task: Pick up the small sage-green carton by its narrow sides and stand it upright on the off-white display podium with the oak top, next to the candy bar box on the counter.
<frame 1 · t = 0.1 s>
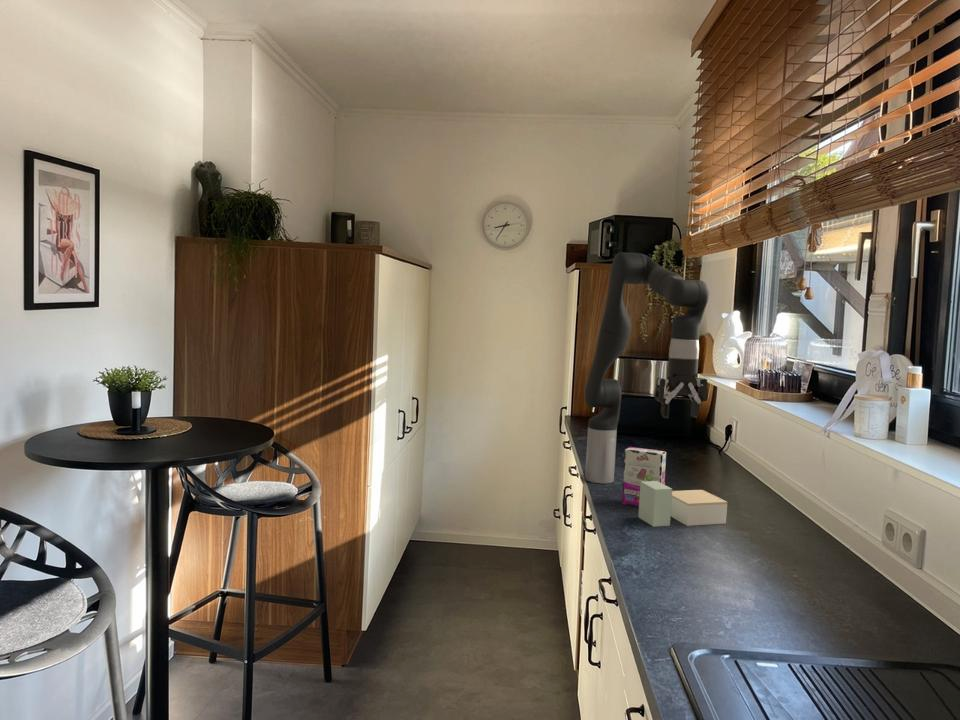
hand: (679, 417, 194), 29 cm above the worktop, fingers open, 8 cm apart
podium: (694, 517, 203), on the worktop
sage carton: (653, 521, 198), on the worktop
candy bar box: (642, 506, 213), on the worktop
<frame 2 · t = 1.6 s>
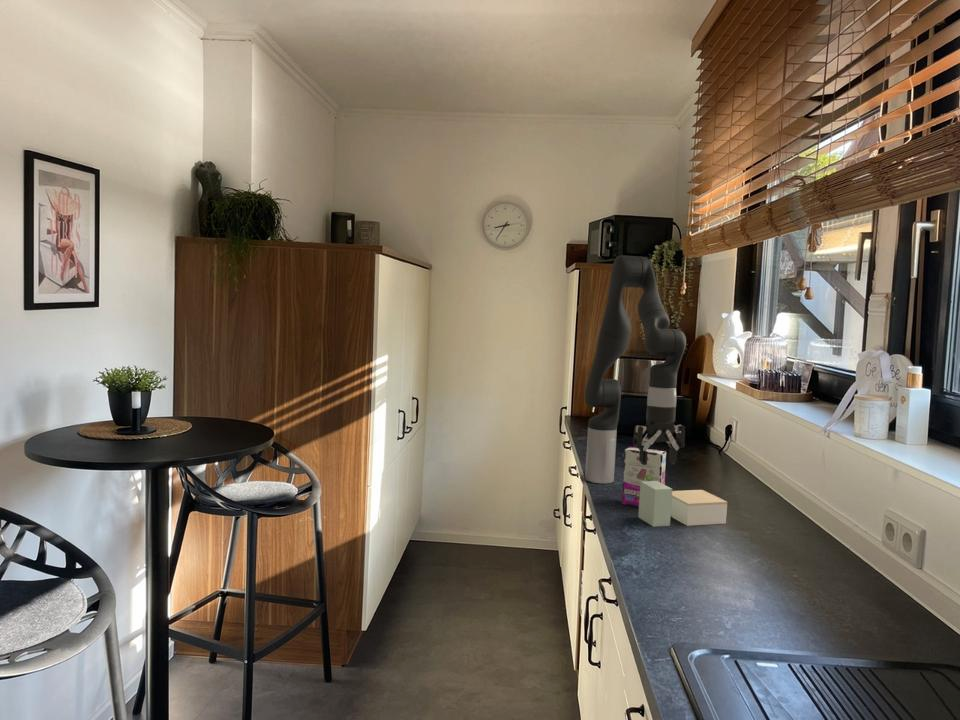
hand: (657, 463, 197), 16 cm above the worktop, fingers open, 8 cm apart
nothing on the worktop moved.
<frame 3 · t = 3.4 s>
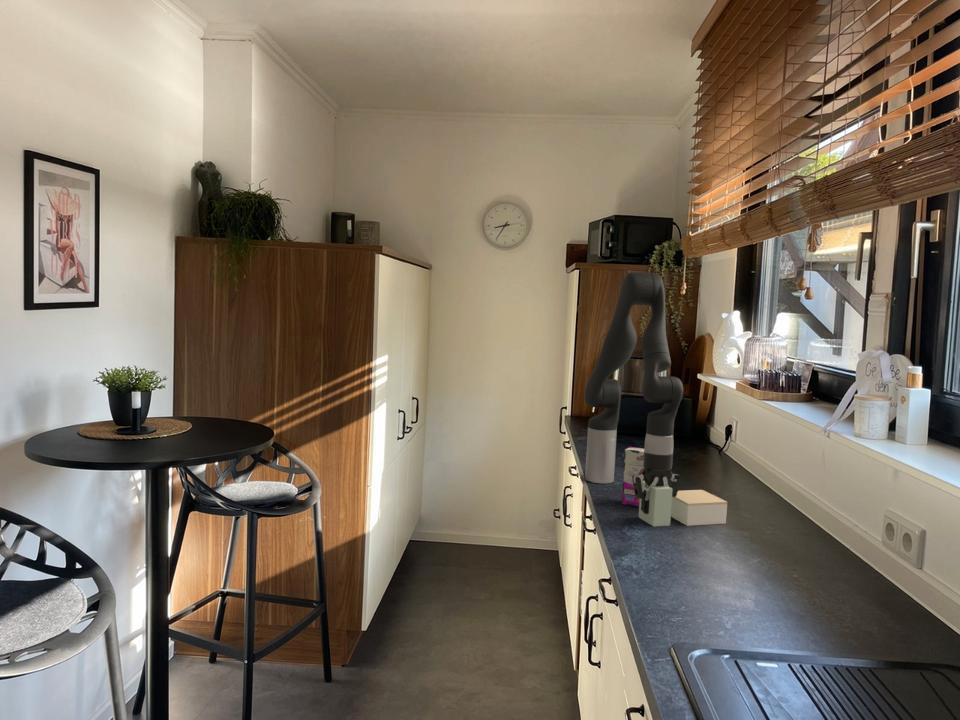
hand: (654, 512, 198), 2 cm above the worktop, fingers closed on sage carton, 5 cm apart
sage carton: (654, 521, 198), on the worktop, touching gripper
everything else where it was.
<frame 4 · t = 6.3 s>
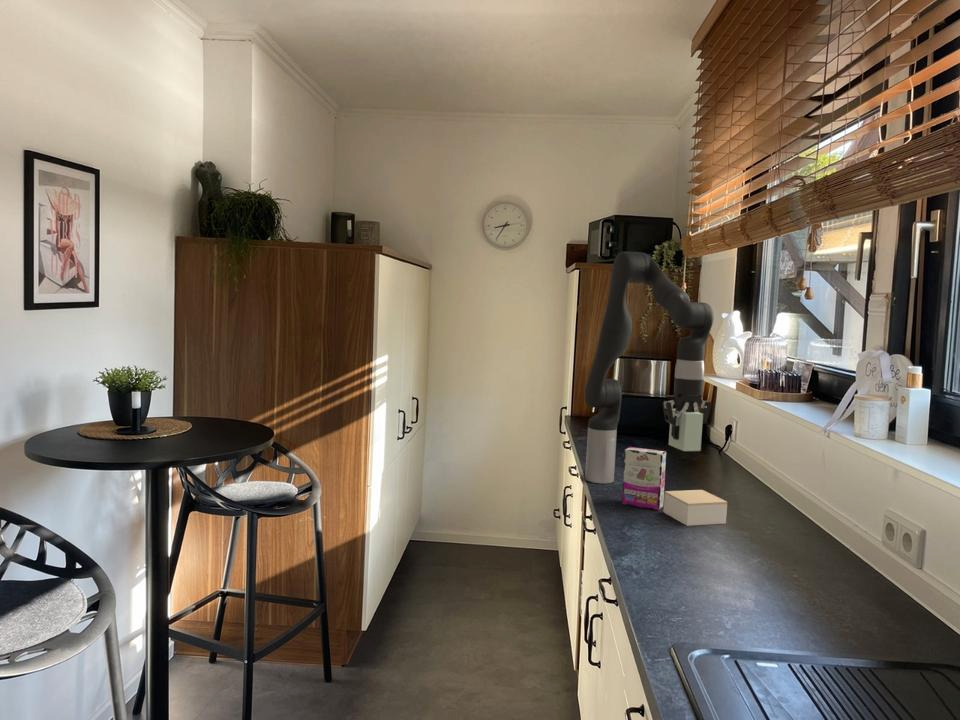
hand: (684, 438, 199), 22 cm above the worktop, fingers closed on sage carton, 5 cm apart
sage carton: (684, 447, 199), point 20 cm above the worktop, touching gripper
everything else where it was.
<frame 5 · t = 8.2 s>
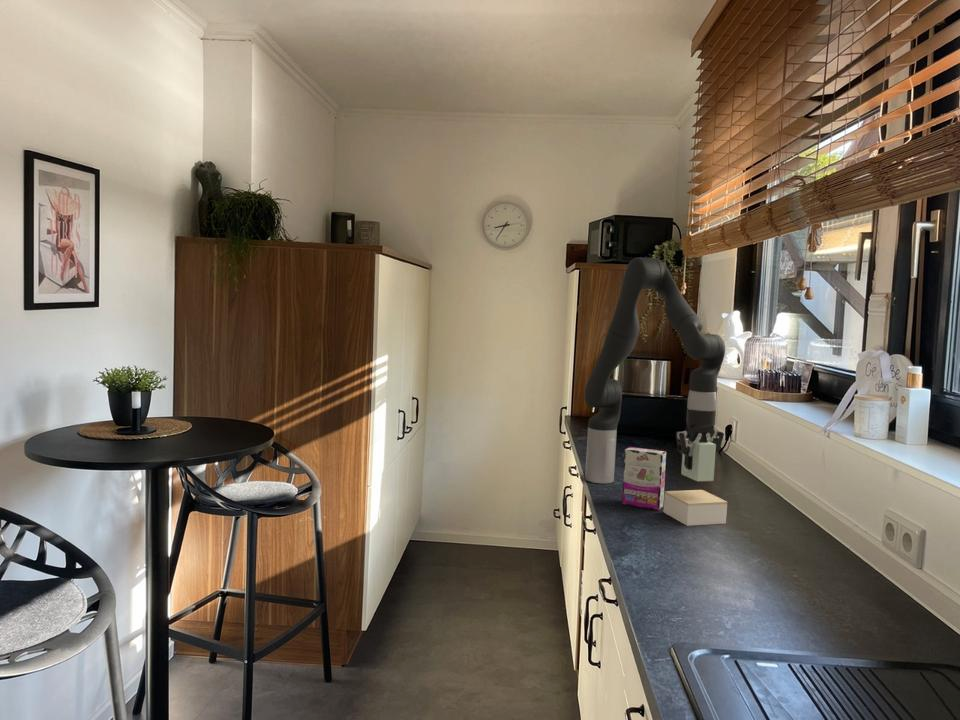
hand: (697, 468, 201), 14 cm above the worktop, fingers closed on sage carton, 5 cm apart
sage carton: (697, 477, 202), point 11 cm above the worktop, touching gripper
everything else where it was.
when the fingers open (10 cm above the worktop, at t = 9.5 s): sage carton drops 1 cm, resting on podium.
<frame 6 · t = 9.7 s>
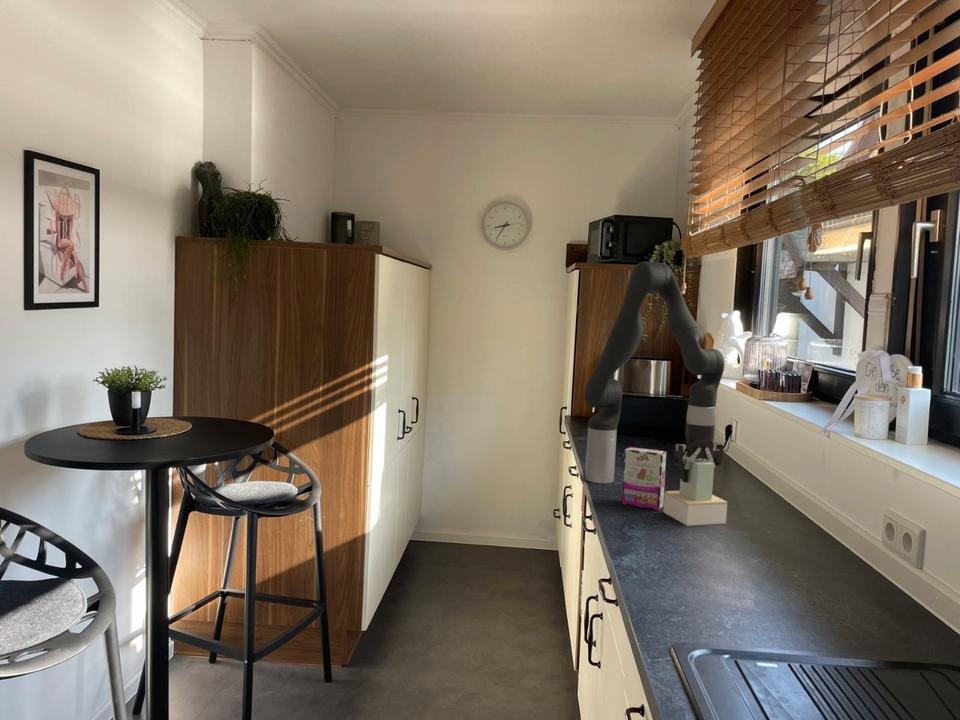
hand: (696, 481, 202), 10 cm above the worktop, fingers open, 7 cm apart
sage carton: (695, 496, 202), point 6 cm above the worktop, touching podium
everything else where it was.
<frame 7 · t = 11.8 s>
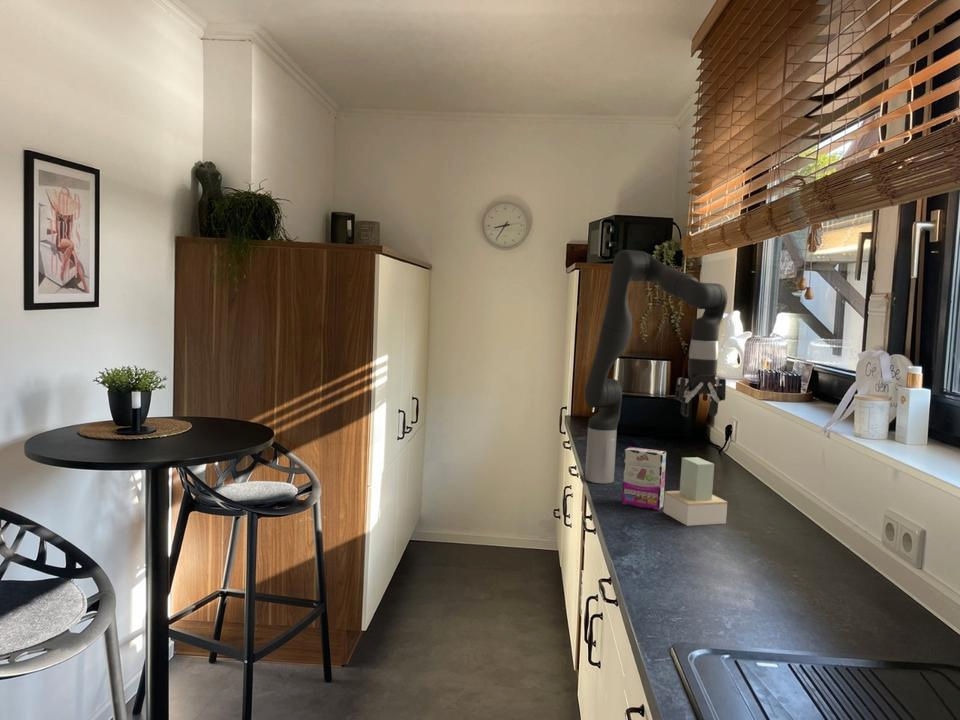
hand: (698, 415, 201), 28 cm above the worktop, fingers open, 8 cm apart
nothing on the worktop moved.
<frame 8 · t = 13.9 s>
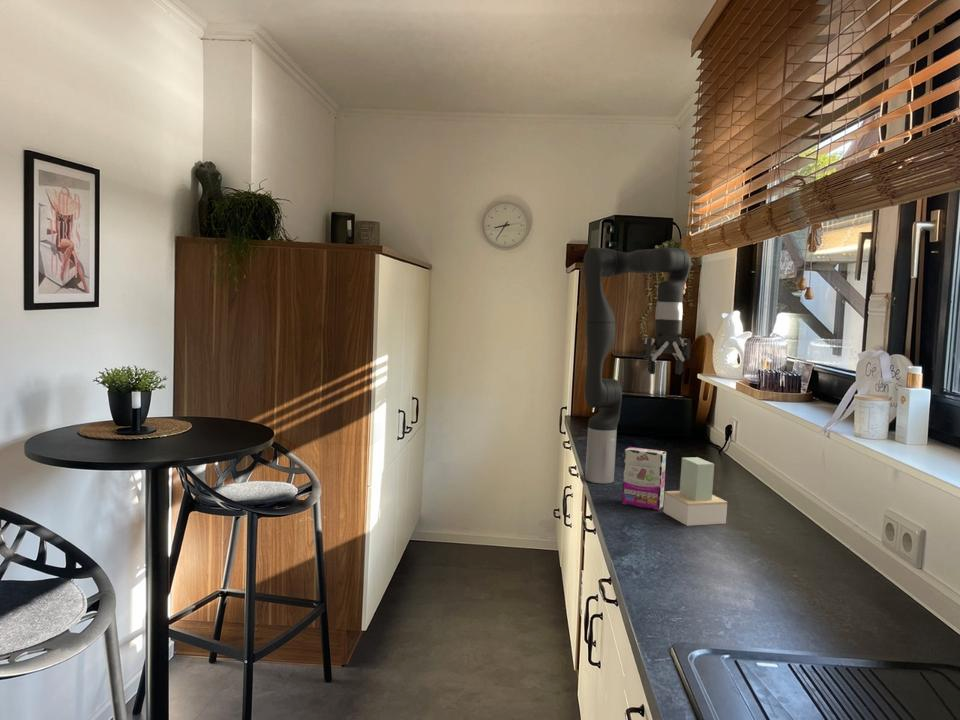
hand: (665, 374, 213), 38 cm above the worktop, fingers open, 8 cm apart
nothing on the worktop moved.
at the end: sage carton inside the target area (0.0 cm from its centre), point 6.0 cm above the worktop; sage carton tilted 0°; the gripper is holding nothing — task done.
